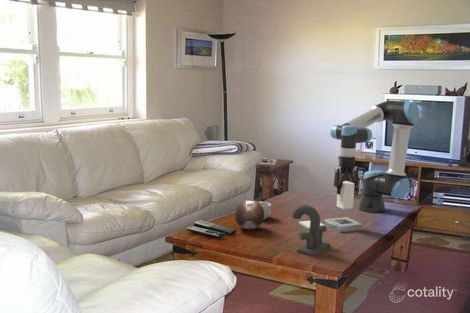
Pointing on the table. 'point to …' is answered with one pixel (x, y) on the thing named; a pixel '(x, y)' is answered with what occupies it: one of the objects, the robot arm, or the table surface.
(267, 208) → the teacup
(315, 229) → the faucet
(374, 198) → the robot arm
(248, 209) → the bronze metal ball
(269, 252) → the table surface
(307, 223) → the pad
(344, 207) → the peg
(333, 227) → the socket plate
